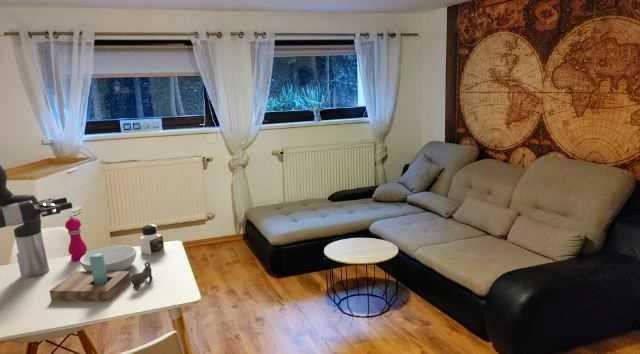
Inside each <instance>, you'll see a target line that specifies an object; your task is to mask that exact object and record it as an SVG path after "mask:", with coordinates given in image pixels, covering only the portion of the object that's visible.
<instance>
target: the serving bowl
mask: <svg viewBox="0 0 640 354" xmlns="http://www.w3.org/2000/svg"><path fill="white" fill-rule="evenodd" d="M86 253H87V254H85V255H84V256H82V257H81V259H80V261H79V262H80V265H81V267H82V268H83V269H84V271H92V268H91V263H90V258H89V257H90V256H91V255H93V254H97V253H102V254H103V256H104V262H105V267H106V271H124V270H126V269H128V268H129V267H130V266H131V265H132V264H133V263H134V261H135V259H136V255H137V249H136V248H135V247H133V246H130V245H125V244H124V245H122V244H121V245H108V246H104V247H101V248H97V249H94V250H90V251H88V252H86Z"/></svg>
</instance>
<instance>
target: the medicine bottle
mask: <svg viewBox="0 0 640 354" xmlns="http://www.w3.org/2000/svg"><path fill="white" fill-rule="evenodd" d="M163 238H164V237H163V235H162V234H159V233H158V226H157V225H156V224H147V225H144V226H143V227H142V236H141V237H140V236H139V239H138V240H139V245H140V246H139V247H140V252H141V254H145V255H149V256H153V254H154V255H156V254H157V253H159V252H162V251H164V250H165V244H164V239H163Z"/></svg>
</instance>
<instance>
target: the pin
mask: <svg viewBox="0 0 640 354" xmlns="http://www.w3.org/2000/svg"><path fill="white" fill-rule="evenodd" d="M89 258H90V263H91V268H92V274H93V279H94V284H95V285H105V284H106V283H107V282H108V278H107V273H106V267H105V262H104V256H103V254H102V253H97V254H93V255H91V256H90V257H89Z"/></svg>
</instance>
